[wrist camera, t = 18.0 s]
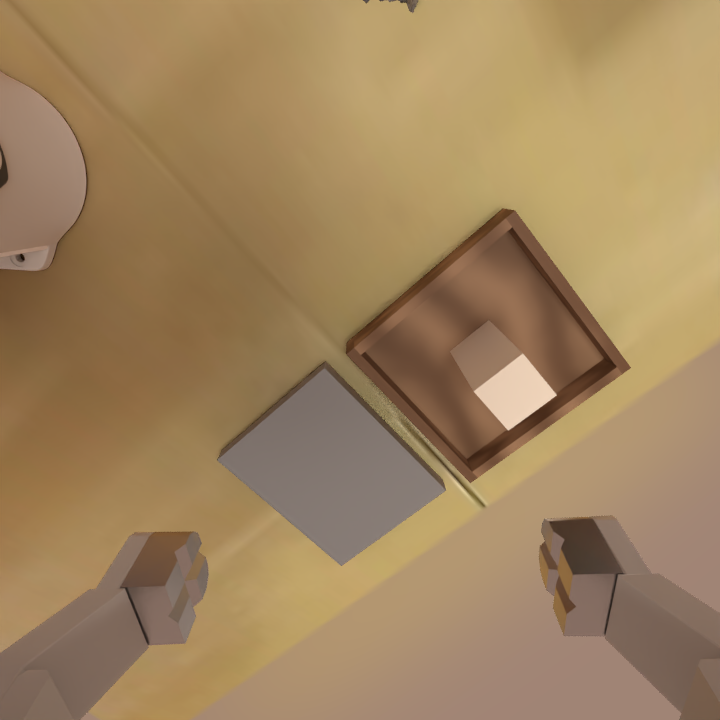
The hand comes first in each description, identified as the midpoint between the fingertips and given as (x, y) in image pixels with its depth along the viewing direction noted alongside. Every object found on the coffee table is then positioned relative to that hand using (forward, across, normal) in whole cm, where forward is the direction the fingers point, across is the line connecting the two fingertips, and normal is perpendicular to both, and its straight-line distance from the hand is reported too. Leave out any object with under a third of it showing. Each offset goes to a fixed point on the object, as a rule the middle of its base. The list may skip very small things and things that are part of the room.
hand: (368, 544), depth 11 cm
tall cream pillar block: (+37, +10, -12) cm, 40 cm away
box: (+38, +10, -12) cm, 41 cm away
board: (+36, -6, -25) cm, 44 cm away
